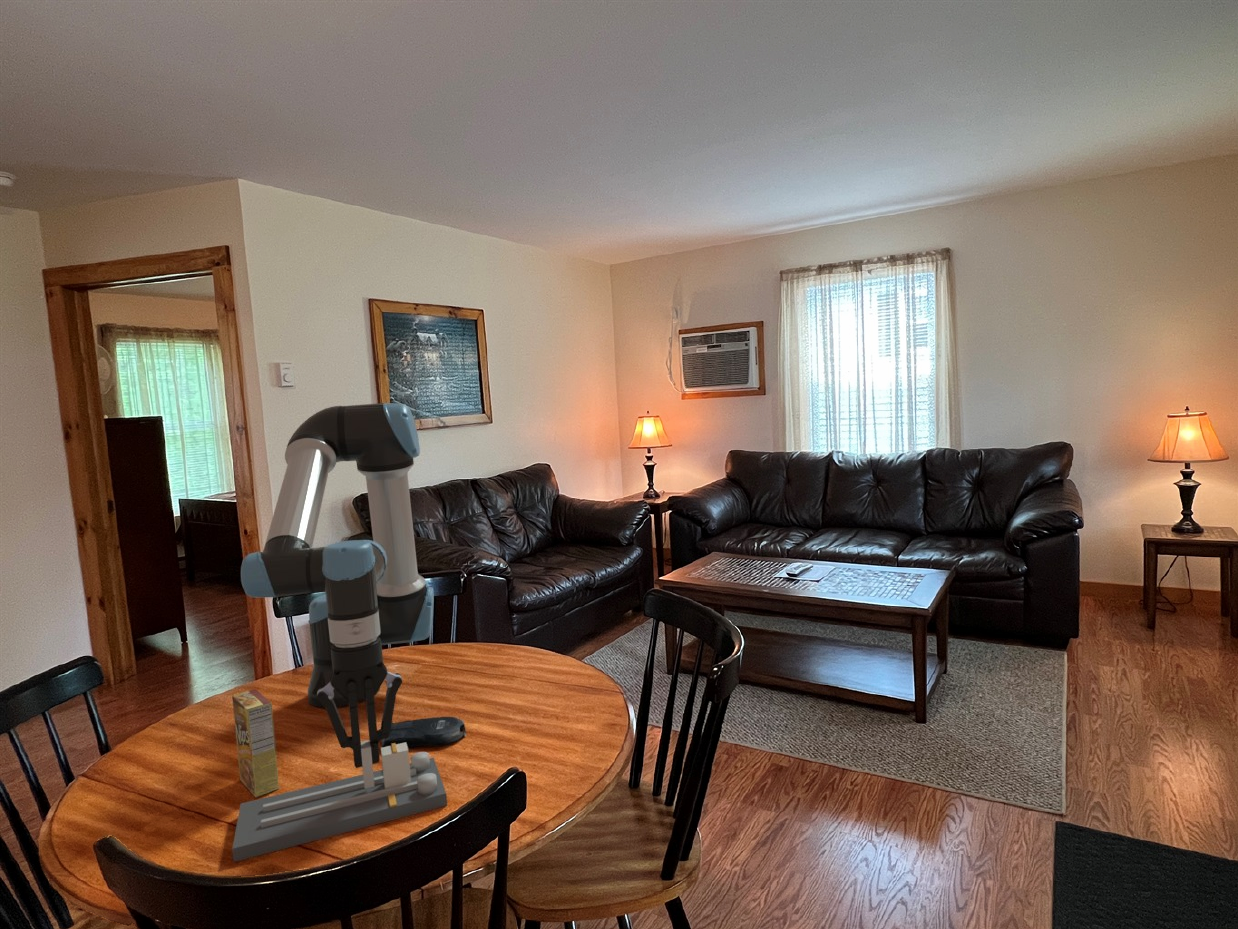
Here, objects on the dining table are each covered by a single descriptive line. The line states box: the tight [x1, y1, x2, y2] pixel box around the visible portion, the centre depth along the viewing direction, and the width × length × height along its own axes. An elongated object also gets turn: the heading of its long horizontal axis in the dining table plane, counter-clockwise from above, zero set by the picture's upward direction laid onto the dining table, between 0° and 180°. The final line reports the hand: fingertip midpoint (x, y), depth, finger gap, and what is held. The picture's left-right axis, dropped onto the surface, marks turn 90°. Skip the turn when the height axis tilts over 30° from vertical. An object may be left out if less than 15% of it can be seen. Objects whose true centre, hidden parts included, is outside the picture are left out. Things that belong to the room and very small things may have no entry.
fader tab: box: [380, 742, 411, 789], centre depth 117 cm, size 3×4×6 cm
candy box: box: [232, 688, 280, 799], centre depth 123 cm, size 9×4×15 cm, turn 43°
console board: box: [232, 751, 448, 863], centre depth 114 cm, size 13×30×4 cm, turn 113°
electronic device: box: [380, 716, 467, 748], centre depth 138 cm, size 9×6×15 cm
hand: (368, 783), depth 115 cm, fingers closed
